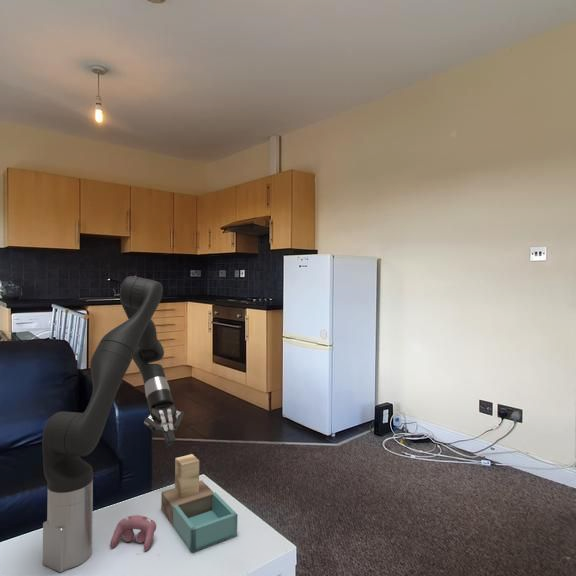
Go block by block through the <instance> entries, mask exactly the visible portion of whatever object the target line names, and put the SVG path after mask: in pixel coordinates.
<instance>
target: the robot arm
mask: <svg viewBox="0 0 576 576" xmlns="http://www.w3.org/2000/svg"><path fill="white" fill-rule="evenodd" d="M163 292H164V288H163V285H162V283H161V282H159V281H156V280H154V279H149V278H145V277H144V278H143V277H140V276H136V275H135V276H134V275H133V276H132V275H130V276H127V277H125V278H124V280H123V281H122V283H121V285H120V288H119V300H120V304H121V306H122V309H123V310H124V313H125V316H126V317H127V319H126V320H125V321H124V322H122V323H121V324H119V325H117V326H115V327H114V328H113V329H111V330H109V332H107V333H106V334H104V336H103V337H102V338H101V339H100V341H99V343H98V345H97V347H96V348H95V350H94V352H93V353H92V356H91V359H90V364H89V365H90V366H89V368H90V375H91V382H92V393H91V397H90V400H89V402H88V404H87V407H86V408H85V409H84V410H85V411H83V412H76V411H75V412H73V411H58V412H56V413H54V414H52V415H51V416H50V417H49V418H48V420H47V421H46V424H45V425H44V428H43V433H42V439H41V440H42V441H41V442H42V443H41V445H42V449H41V450H42V461H43V474H44V477H45V478H44V479H45V480H46V482H47V503H46V504H47V509H46V510H47V511H46V513H47V514H46V515H47V516H46V518H47V519H46V521H44V522H43V523H42V565H44V566H46V567H48V568H50V569H51V570H55V571H56V572H59V573H63V572H64V571H66V570H69V569H72V568H75V567H77V566H80V565H82V564H83V563H84V562H86V561H88V559H89V558H90V557H91V555H92V553H93V515H94V514H93V511H94V510H93V508H94V506H93V505H94V503H93V502H94V501H93V500H94V497H93V495H94V492H93V491H94V490H93V489H94V487H93V485H94V475H93V474H94V470H93V466H92V465H91V464H90V463H88V462H86V461H85V460H84V459H82V457H86V456H88V455H90V454H91V453H92V452H93V451H94V450H95V448H96V447H97V446H98V444H99V442H100V439H101V438H102V435H103V432H104V430H105V426H106V424H107V420H108V419H109V415H110V412H111V409H112V406H113V404H114V401H115V398H116V395H117V393H118V390H119V388H120V387H121V384H122V382H123V379H124V377H125V375H126V373H127V371H128V369H129V366H130V365H131V363H132V360H133V362H134V364H135V365H136V366H137V368H138V370H139V371H140V373H141V377H142V380H143V385H144V392H145V398H146V401H147V405H148V409H149V415H148V417H145V419H144V422H143V424H144V425H145V426H146V427H147V428H149V429H150V430H151V431H152V432H153V433H155V434H156V435H159V434H160V435H162V436H163V439H164V443H165V444H166V445H167V446H168V447H169V446H173V445H174V443H175V441H176V436H175V432H174V431H176V432H177V430H178V428H179V426H180V423H181V421H182V419H183V418H184V415H185V411H183V410H182V411H179V410H177V407H175V404H174V400H173V396H172V393H171V389H170V386H169V382H168V381H167V377H166V375H165V374H166V373H165V371H164V370H165V369H164V367H163V365H161V364H160V363H155V362H158V361H159V362H160V361H161V360H162V359H163V358H164V354H165V349H164V347H163V345H162V344H161V341H159V339H158V337H157V336H158V335H157V328H156V325H155V322H154V321H153V319H152V318H153V316H154V314H155V313H156V310H157V308H158V307H159V305H160V302H161V300H162V297H163ZM174 417H175V418H176V421H175V423H174V421H173V420H174ZM173 423H174V424H173Z"/></svg>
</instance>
